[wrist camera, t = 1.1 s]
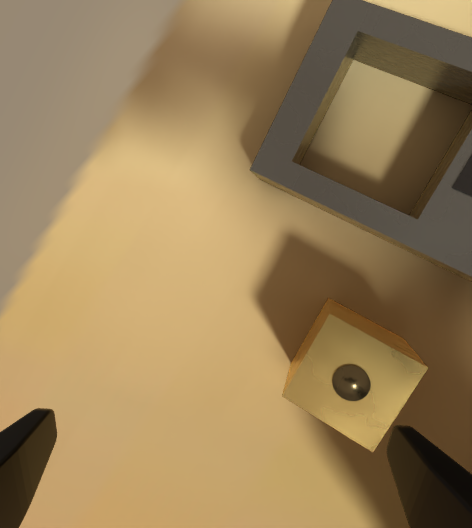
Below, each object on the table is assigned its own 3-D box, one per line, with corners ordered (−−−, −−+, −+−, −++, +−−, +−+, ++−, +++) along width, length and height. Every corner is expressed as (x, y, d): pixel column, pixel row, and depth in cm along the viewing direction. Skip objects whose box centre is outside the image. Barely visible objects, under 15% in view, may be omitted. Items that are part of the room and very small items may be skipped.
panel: (663, 144, 15) (732, 124, 12) (542, 316, 16) (581, 329, 14) (334, 25, 18) (336, -10, 16) (258, 178, 20) (249, 169, 17)
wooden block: (403, 338, 18) (428, 368, 14) (361, 404, 19) (372, 453, 15) (328, 297, 19) (329, 313, 15) (291, 362, 20) (281, 396, 16)
